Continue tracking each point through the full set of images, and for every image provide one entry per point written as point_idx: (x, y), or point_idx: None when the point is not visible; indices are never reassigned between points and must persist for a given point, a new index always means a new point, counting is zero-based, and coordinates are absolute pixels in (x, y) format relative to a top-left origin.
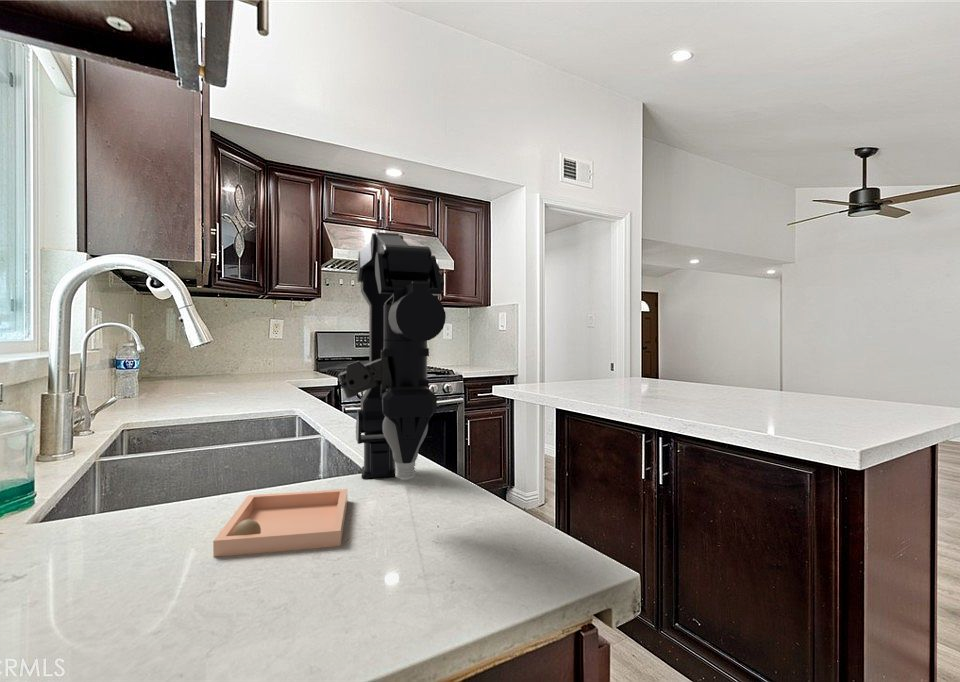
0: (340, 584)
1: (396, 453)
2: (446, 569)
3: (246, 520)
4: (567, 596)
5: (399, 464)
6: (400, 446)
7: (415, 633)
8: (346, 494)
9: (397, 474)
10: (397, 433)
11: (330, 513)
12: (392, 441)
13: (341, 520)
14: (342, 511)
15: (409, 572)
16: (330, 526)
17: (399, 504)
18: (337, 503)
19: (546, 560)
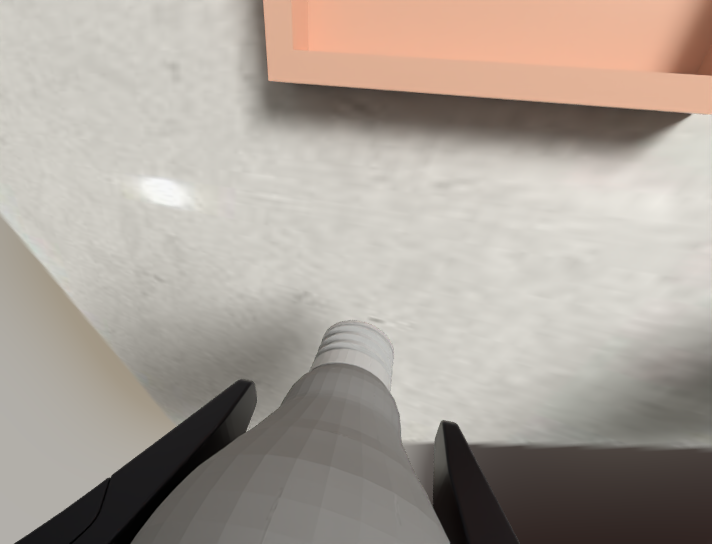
0: (132, 83)
1: (291, 398)
2: (196, 282)
3: None
4: (137, 373)
5: (316, 365)
6: (160, 442)
7: (26, 199)
8: (661, 110)
9: (341, 330)
10: (46, 522)
11: (585, 35)
12: (224, 449)
13: (354, 84)
14: (443, 88)
15: (185, 225)
16: (443, 42)
17: (569, 280)
18: (700, 66)
19: None
